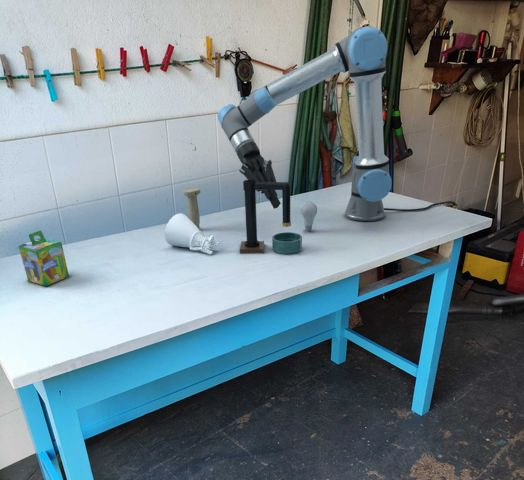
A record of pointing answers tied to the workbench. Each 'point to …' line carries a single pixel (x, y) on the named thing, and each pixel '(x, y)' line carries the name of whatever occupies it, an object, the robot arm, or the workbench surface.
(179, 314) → the workbench surface
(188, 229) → the rocket engine
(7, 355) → the workbench surface
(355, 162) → the robot arm
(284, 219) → the spout
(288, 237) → the basin
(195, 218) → the handle
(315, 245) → the workbench surface
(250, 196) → the black post
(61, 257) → the chalk box
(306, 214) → the lightbulb
